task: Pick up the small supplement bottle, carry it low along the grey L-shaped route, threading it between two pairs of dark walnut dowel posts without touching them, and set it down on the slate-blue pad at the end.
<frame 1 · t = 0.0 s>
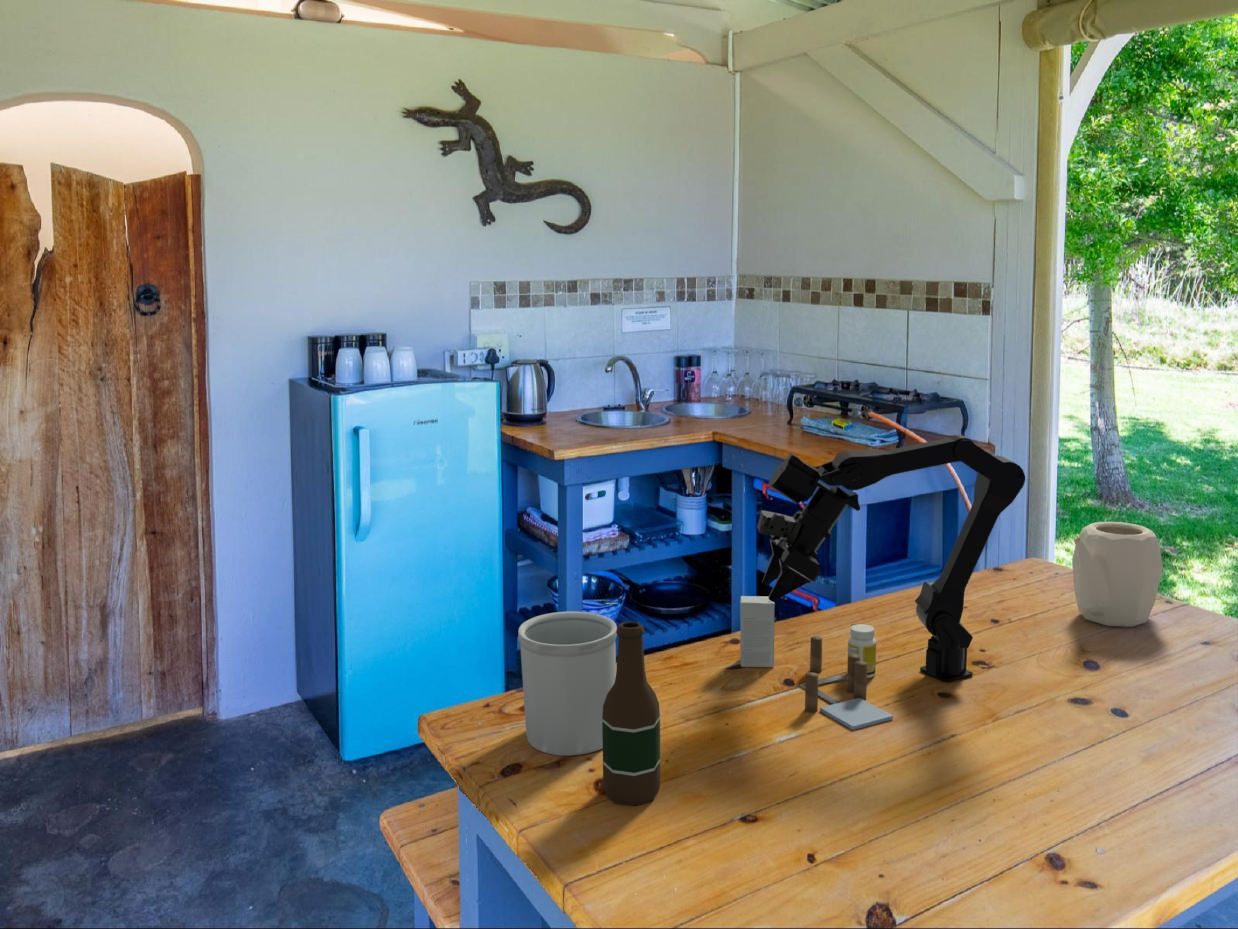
hand: (767, 592, 182), 15 cm above the table, tool tilted 35°, fingers open, 9 cm apart
skincare box: (756, 664, 189), on the table
faceted clay vase: (1108, 621, 210), on the table
supplement bottle: (861, 675, 184), on the table
utensil holder: (570, 737, 161), on the table
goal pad: (856, 715, 167), on the table
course: (805, 687, 178), on the table
beer bottle: (631, 794, 143), on the table
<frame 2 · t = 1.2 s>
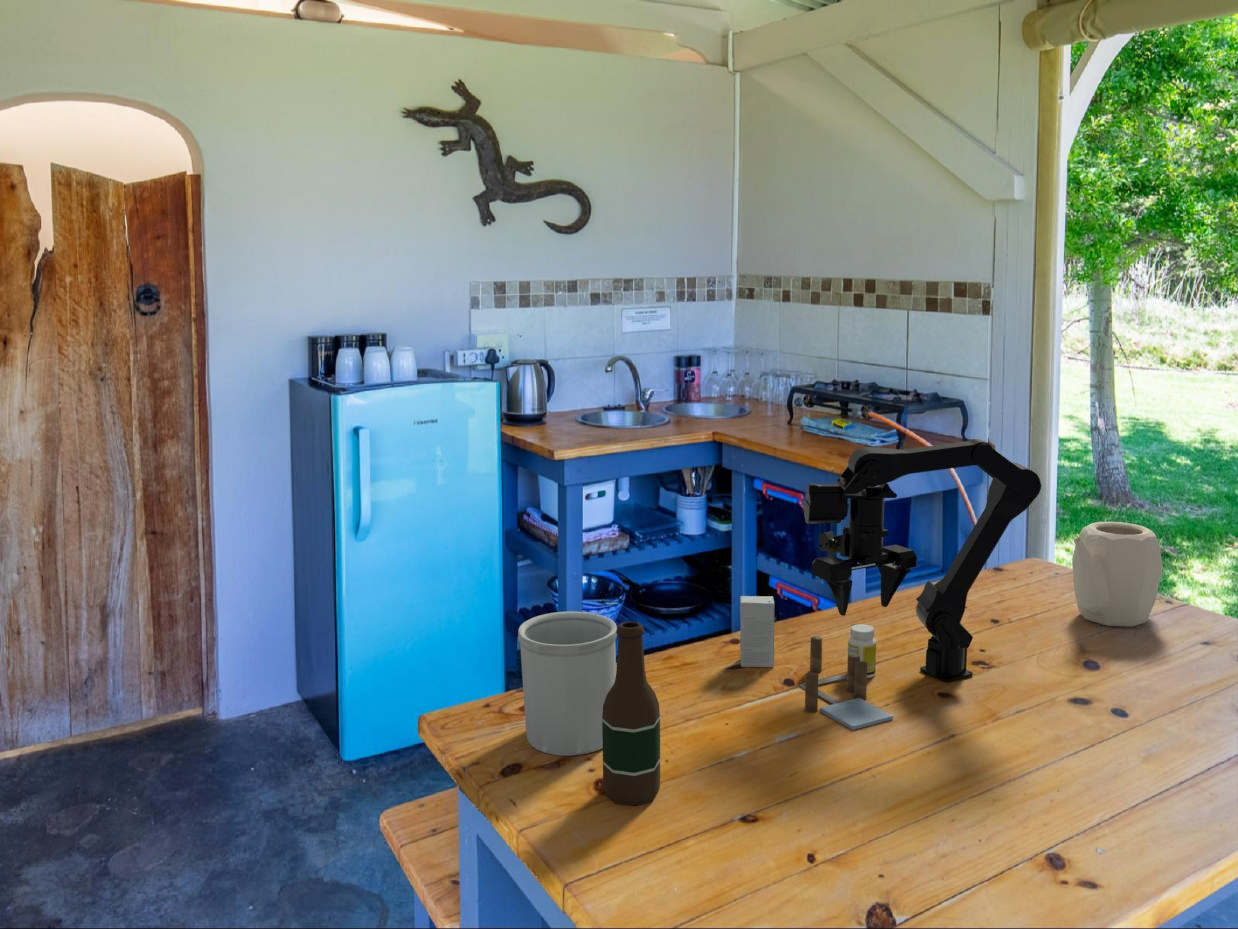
hand: (863, 610, 182), 11 cm above the table, tool pointing down, fingers open, 9 cm apart
nothing on the table moved.
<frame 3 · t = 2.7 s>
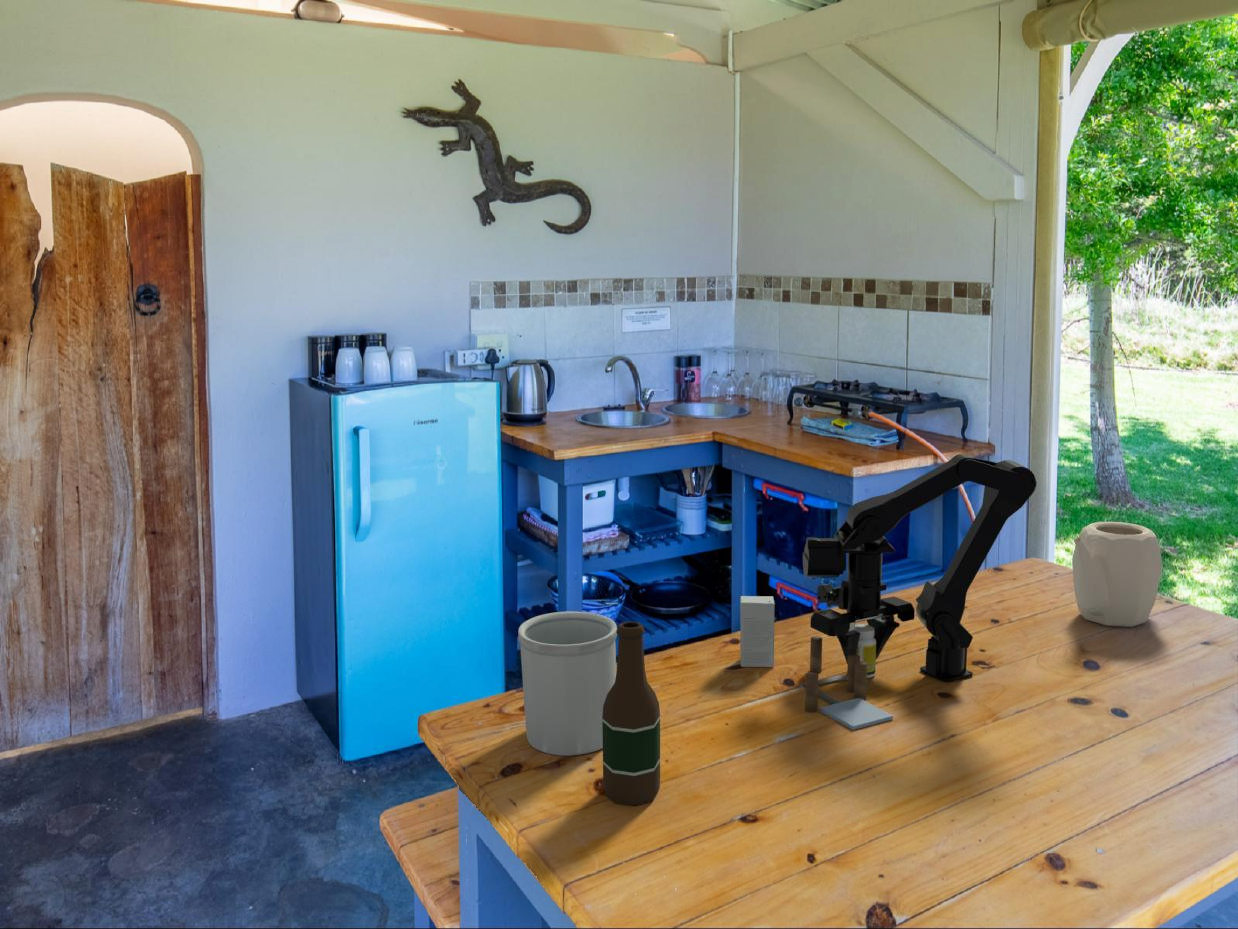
hand: (861, 662, 183), 2 cm above the table, tool pointing down, fingers closed on supplement bottle, 5 cm apart
supplement bottle: (861, 675, 184), on the table, touching gripper
everything else where it was.
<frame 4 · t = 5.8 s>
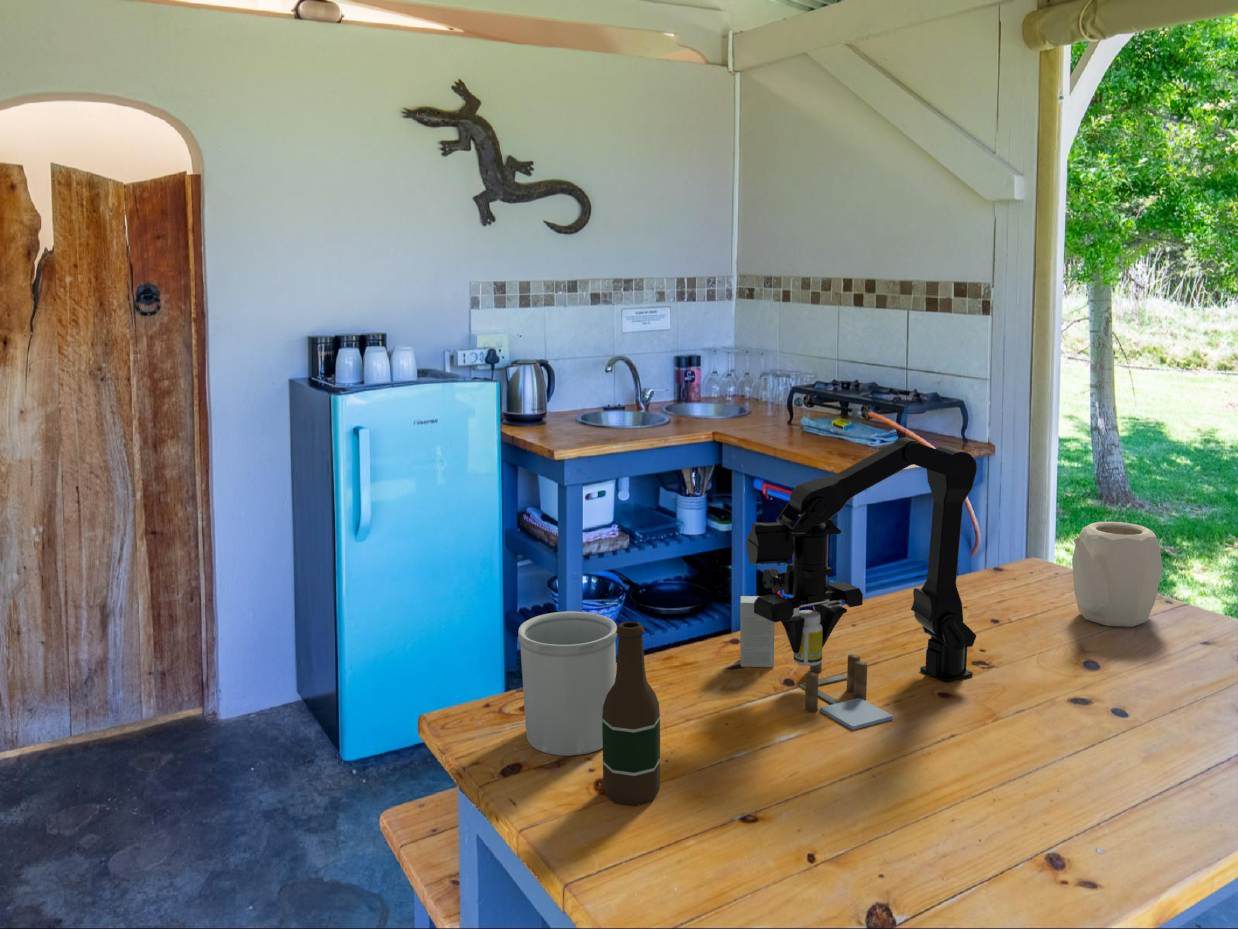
hand: (807, 649, 177), 7 cm above the table, tool pointing down, fingers closed on supplement bottle, 5 cm apart
supplement bottle: (807, 662, 178), point 4 cm above the table, touching gripper
everything else where it was.
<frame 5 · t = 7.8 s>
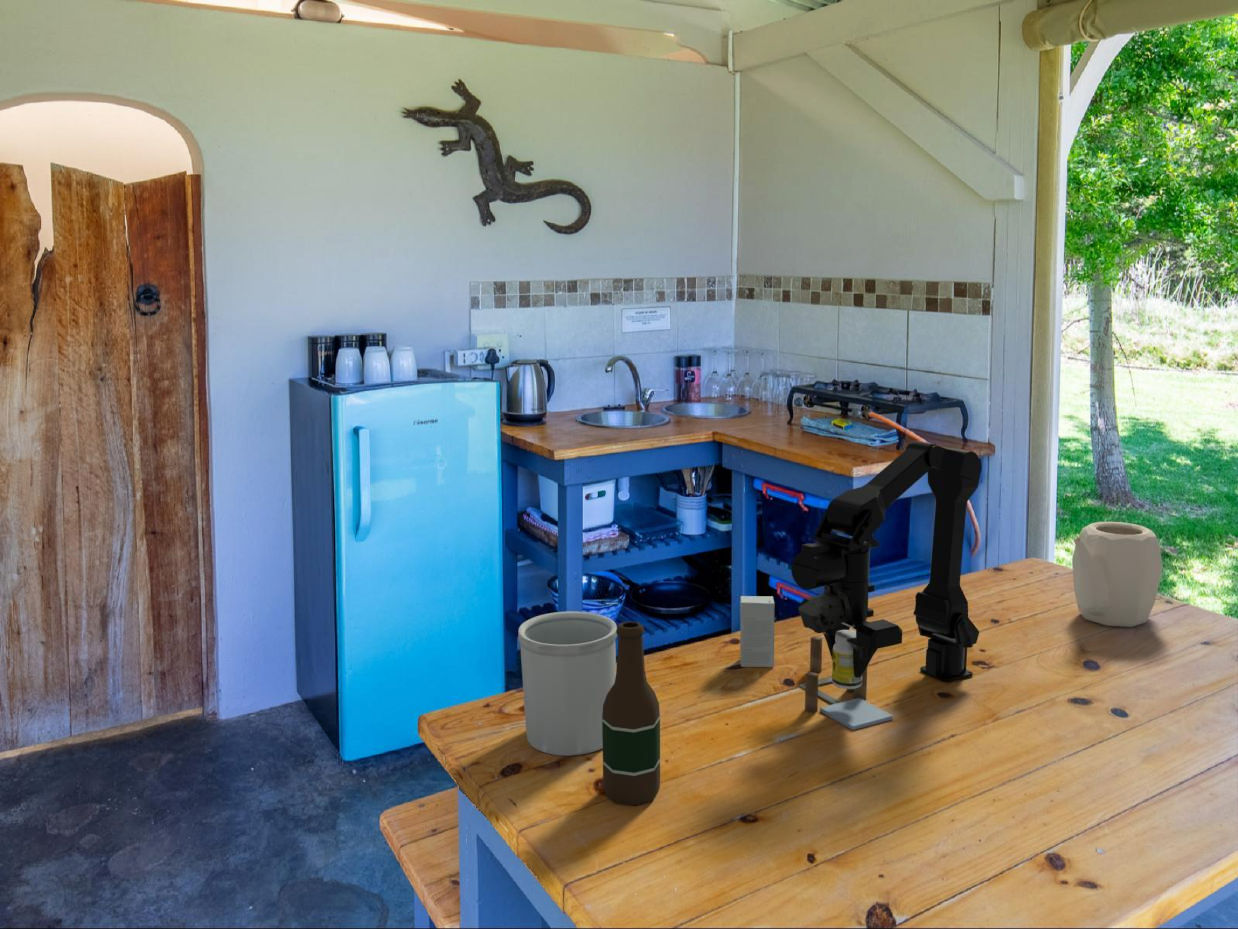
hand: (847, 671, 168), 6 cm above the table, tool pointing down, fingers closed on supplement bottle, 5 cm apart
supplement bottle: (846, 685, 168), point 4 cm above the table, touching gripper
everything else where it was.
when the fingers open (4 cm above the table, at t = 9.2 s): supplement bottle drops 1 cm, resting on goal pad.
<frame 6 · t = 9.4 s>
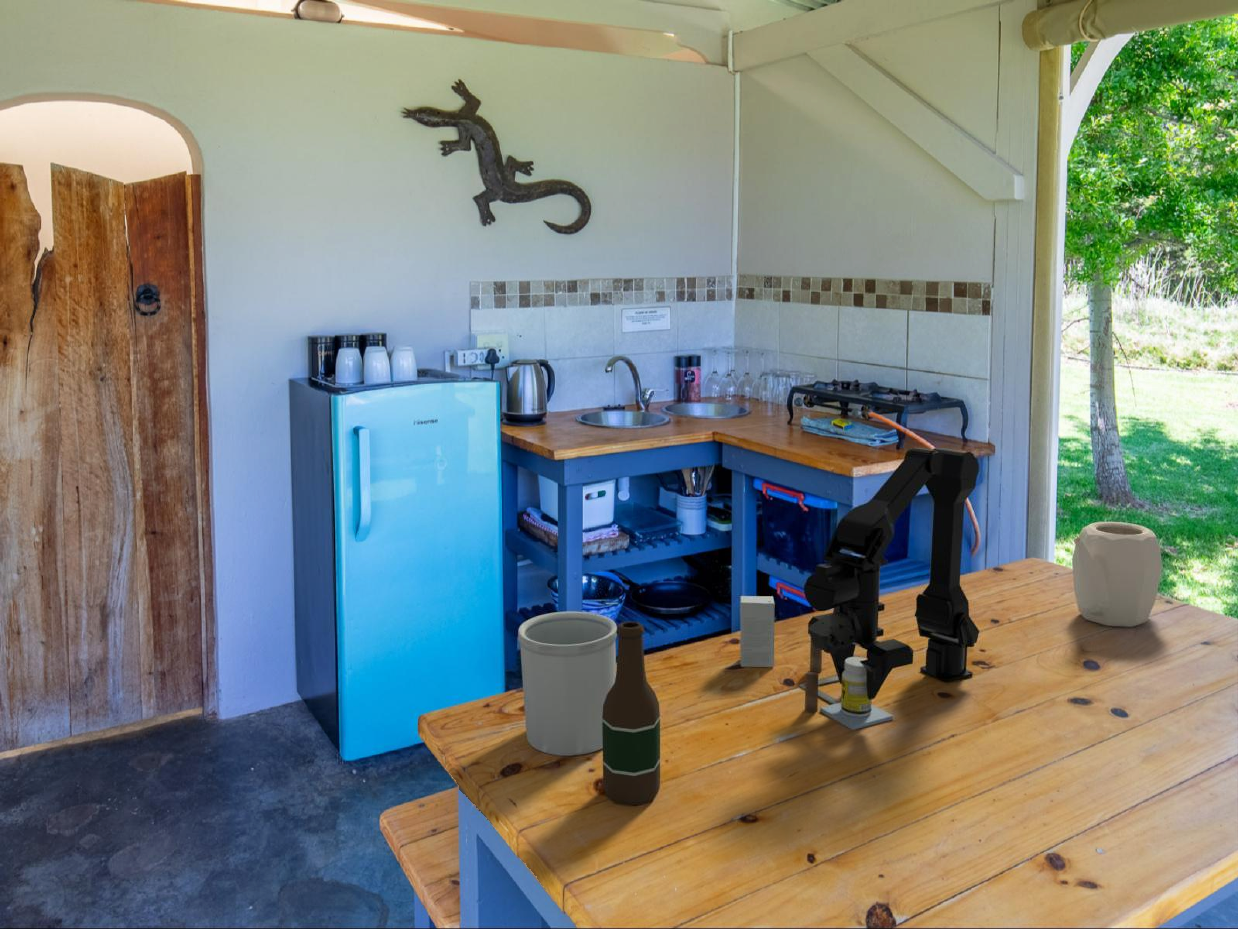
hand: (857, 691, 166), 4 cm above the table, tool pointing down, fingers open, 6 cm apart
supplement bottle: (856, 712, 167), resting on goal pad
everything else where it was.
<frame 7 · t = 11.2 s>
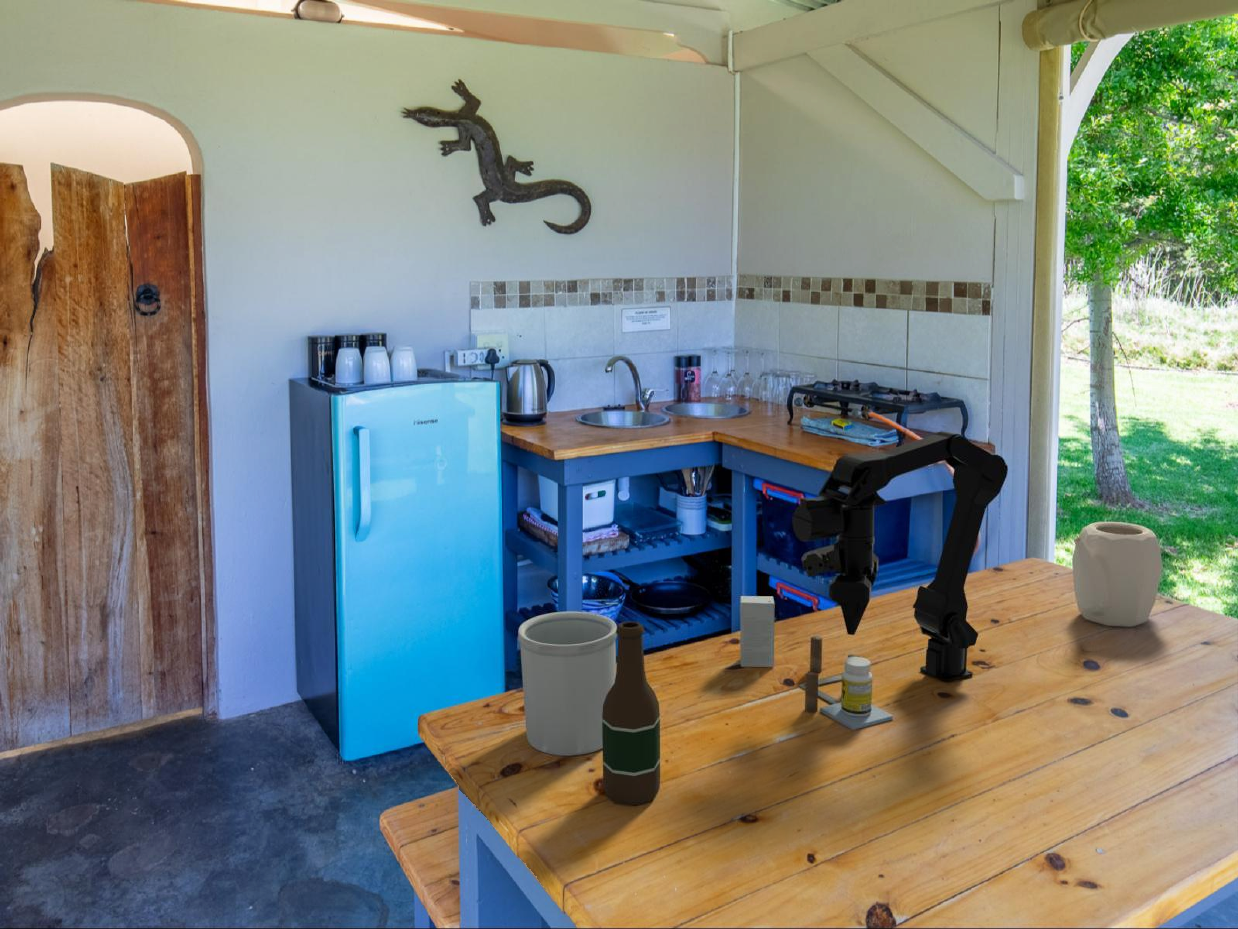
hand: (853, 625, 174), 12 cm above the table, tool pointing down, fingers open, 9 cm apart
nothing on the table moved.
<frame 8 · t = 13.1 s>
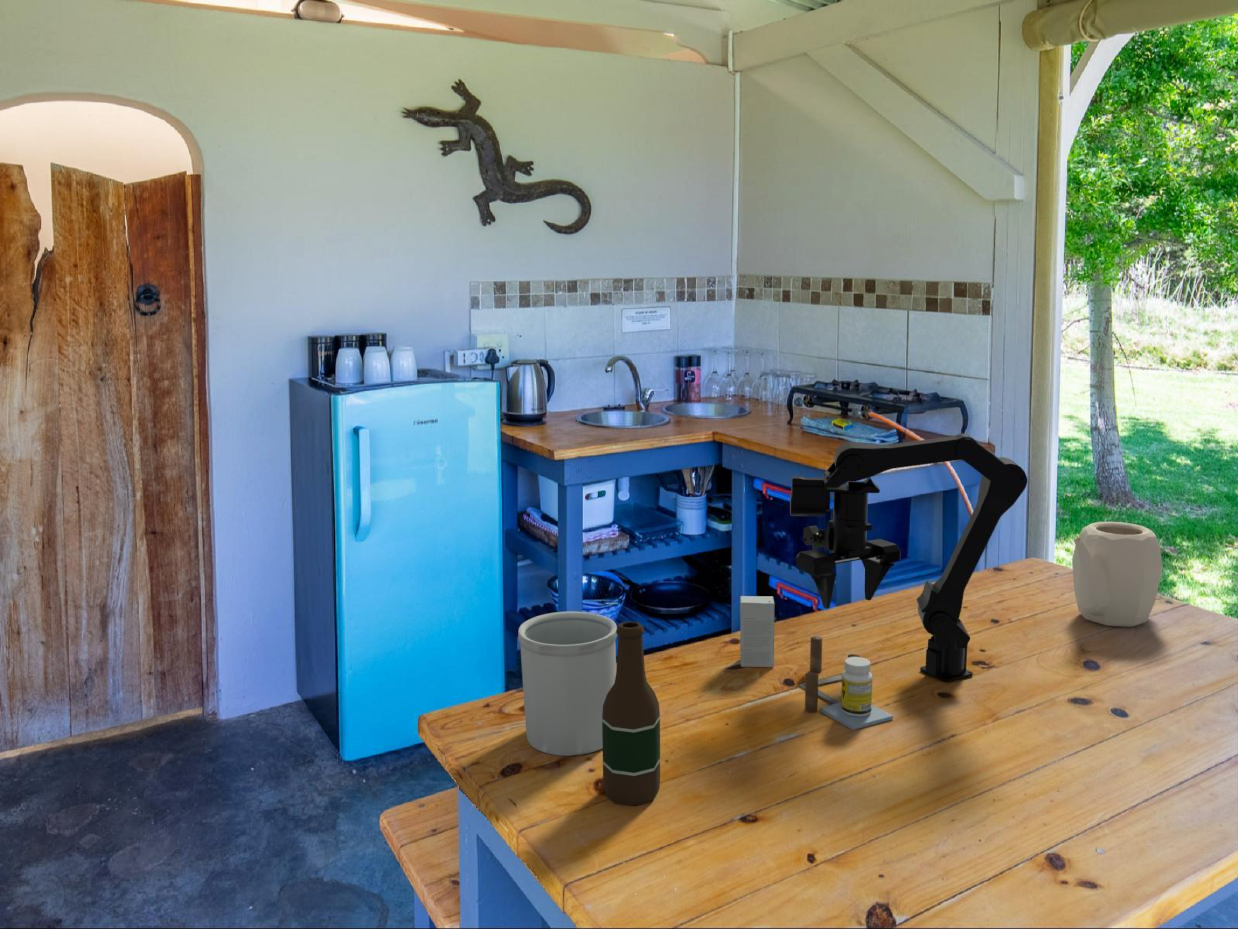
hand: (847, 604, 184), 12 cm above the table, tool pointing down, fingers open, 9 cm apart
nothing on the table moved.
at the end: supplement bottle inside the target area (0.1 cm from its centre), resting on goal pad; supplement bottle tilted 0°; supplement bottle touching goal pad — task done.
